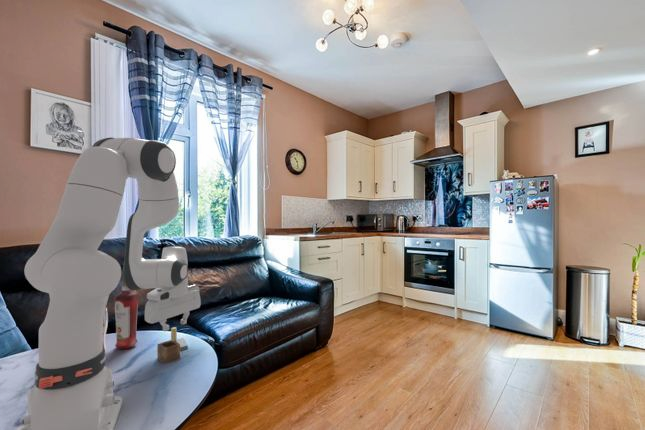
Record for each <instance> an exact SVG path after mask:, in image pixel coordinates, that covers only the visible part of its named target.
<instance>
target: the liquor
mask: <svg viewBox="0 0 645 430" xmlns="http://www.w3.org/2000/svg"><path fill="white" fill-rule="evenodd" d="M113 301H114V315H115V317H114V318H115V332H116V333H115V334H116V343H115V346H114V347H115V348H117V349H119V350H129V349H132V348H133V347H134V346H135V345H136V344H137V343H138V339H137V324H138V322H137V321H138V311H139V310H138V309H139V308H138V307H139V294H138V293H137V292H136V291H133V290H130V289H128V288H127V287H126V286H125V285H124V284H123V283H122V284H121V292H120V293H118V294H116V295H115V296H114V300H113Z"/></svg>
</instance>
